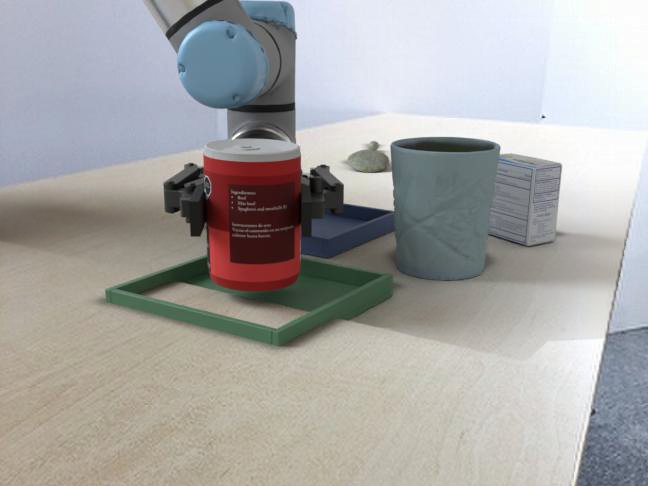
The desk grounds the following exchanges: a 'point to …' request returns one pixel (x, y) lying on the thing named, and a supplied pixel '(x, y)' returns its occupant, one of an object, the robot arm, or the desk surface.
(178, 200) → the robot arm
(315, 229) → the blue tray
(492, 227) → the medicine box
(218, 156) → the canned food
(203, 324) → the green tray
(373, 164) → the knobbed grey dome
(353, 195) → the desk surface
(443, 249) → the embossed blue cup
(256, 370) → the desk surface
